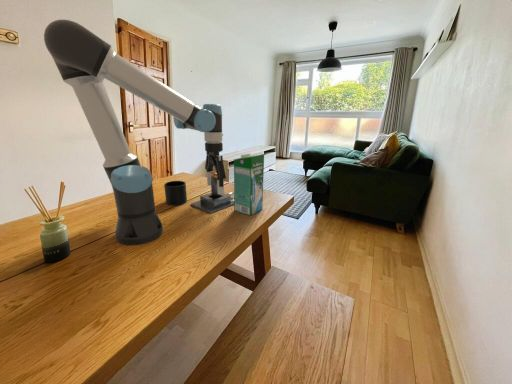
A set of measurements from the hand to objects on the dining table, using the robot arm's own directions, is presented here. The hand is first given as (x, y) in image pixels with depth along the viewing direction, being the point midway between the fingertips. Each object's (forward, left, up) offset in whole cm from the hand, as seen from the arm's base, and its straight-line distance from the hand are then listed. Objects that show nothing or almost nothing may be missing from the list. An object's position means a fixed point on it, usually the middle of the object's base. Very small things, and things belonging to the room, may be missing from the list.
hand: (215, 189), depth 113 cm
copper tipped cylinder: (0, 0, -6) cm, 6 cm away
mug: (-10, +16, -7) cm, 20 cm away
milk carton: (+5, -16, -7) cm, 18 cm away
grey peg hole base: (+2, 0, -7) cm, 7 cm away
